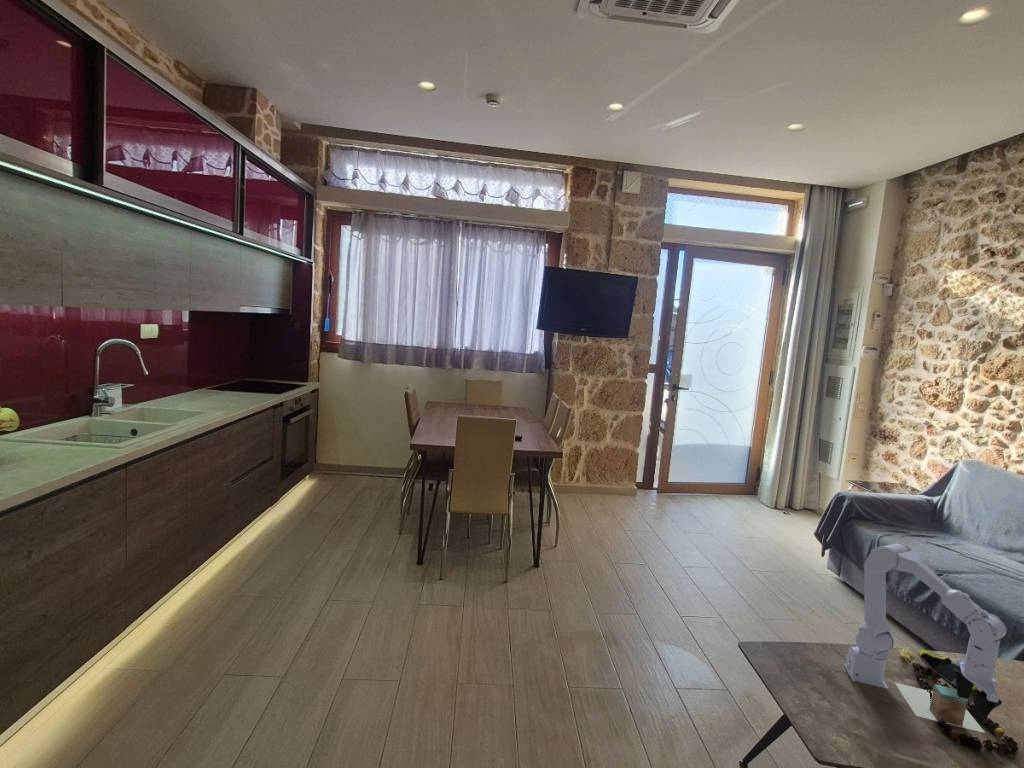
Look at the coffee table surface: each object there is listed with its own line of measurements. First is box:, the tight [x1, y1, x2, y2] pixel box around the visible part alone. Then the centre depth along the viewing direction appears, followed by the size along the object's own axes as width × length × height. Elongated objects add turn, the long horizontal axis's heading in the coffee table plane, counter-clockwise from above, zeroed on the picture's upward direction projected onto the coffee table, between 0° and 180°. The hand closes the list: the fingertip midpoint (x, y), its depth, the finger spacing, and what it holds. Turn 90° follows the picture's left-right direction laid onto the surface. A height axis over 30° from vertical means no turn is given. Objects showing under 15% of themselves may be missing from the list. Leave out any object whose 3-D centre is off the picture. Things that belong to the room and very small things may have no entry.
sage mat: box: [894, 682, 986, 734], centre depth 146 cm, size 16×14×1 cm
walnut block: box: [929, 683, 969, 726], centre depth 141 cm, size 6×4×8 cm, turn 73°
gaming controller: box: [917, 649, 978, 691], centre depth 159 cm, size 15×6×10 cm
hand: (970, 707), depth 133 cm, fingers open, 7 cm apart
